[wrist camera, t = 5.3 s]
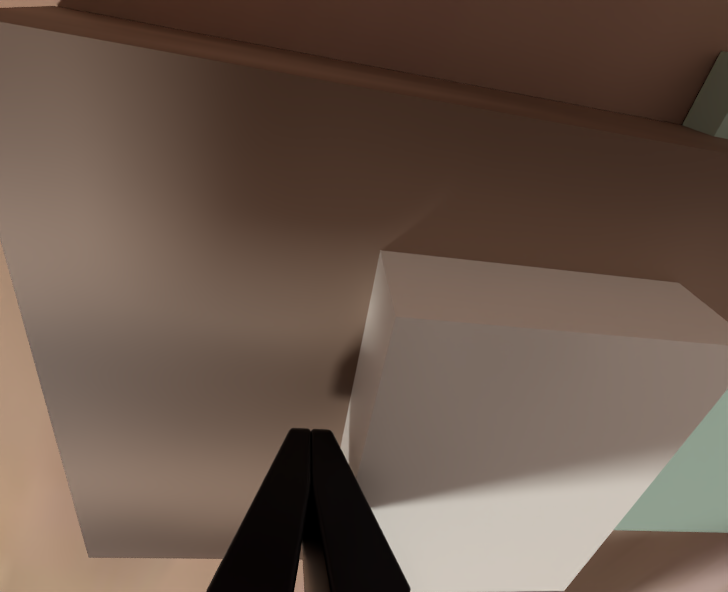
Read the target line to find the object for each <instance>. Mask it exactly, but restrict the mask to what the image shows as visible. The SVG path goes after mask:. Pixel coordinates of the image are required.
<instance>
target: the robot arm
mask: <svg viewBox="0 0 728 592" xmlns="http://www.w3.org/2000/svg"><path fill="white" fill-rule="evenodd" d="M301 546H302V557H303V574H304V590H305V592H410V590H411V588H410V586H409V584H408V582H407V580H406V578H405V576H404V574H403V572H402V570H401V568H400V566H399V564H398V562H397V560H396V558H395V556H394V554H393V552H392V550H391V548H390V546H389V544H388V542H387V540H386V538H385V536H384V534H383V532H382V530H381V528H380V526H379V524H378V522H377V520H376V518H375V516H374V514H373V512H372V510H371V508H370V506H369V504H368V502H367V500H366V498H365V496H364V494H363V492H362V490H361V488H360V486H359V484H358V482H357V480H356V478H355V476H354V474H353V472H352V470H351V468H350V466H349V464H348V462H347V460H346V458H345V456H344V454H343V452H342V450H341V448H340V446H339V444H338V442H337V440H336V438H335V436H334V434H333V432H332V431H331V430H329V429H312V430H311V431H310V429H308V428H291V429H290V430H289V432H288V433H287V435H286V437H285V439H284V441H283V443H282V445H281V447H280V449H279V451H278V453H277V455H276V457H275V459H274V461H273V463H272V464H271V466H270V468H269V470H268V472H267V474H266V476H265V478H264V480H263V482H262V484H261V486H260V488H259V490H258V492H257V494H256V496H255V497H254V499H253V501H252V503H251V505H250V507H249V509H248V511H247V513H246V515H245V517H244V519H243V521H242V523H241V525H240V527H239V528H238V530H237V532H236V534H235V536H234V538H233V540H232V542H231V544H230V546H229V548H228V550H227V552H226V554H225V556H224V558H223V560H222V561H221V563H220V565H219V567H218V569H217V571H216V573H215V575H214V577H213V579H212V581H211V583H210V585H209V587H208V589H207V591H206V592H294V588H295V582H296V576H297V570H298V564H299V558H300V552H301Z"/></svg>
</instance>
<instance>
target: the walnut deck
mask: <svg viewBox="0 0 728 592" xmlns="http://www.w3.org/2000/svg"><path fill="white" fill-rule="evenodd" d="M0 240H1V244H2V247H3V251H4V255H5V258H6V262H7V265H8V269H9V273H10V276H11V280H12V283H13V287H14V291H15V294H16V298H17V301H18V305H19V309H20V312H21V316H22V319H23V323H24V327H25V330H26V334H27V337H28V341H29V345H30V348H31V352H32V355H33V359H34V363H35V366H36V370H37V373H38V377H39V381H40V384H41V388H42V391H43V395H44V398H45V402H46V406H47V409H48V413H49V416H50V420H51V424H52V427H53V431H54V434H55V438H56V442H57V445H58V449H59V452H60V456H61V460H62V463H63V467H64V470H65V474H66V478H67V481H68V485H69V488H70V492H71V496H72V499H73V503H74V506H75V510H76V514H77V517H78V521H79V524H80V528H81V532H82V535H83V539H84V542H85V546H86V550H87V553H88V557H89V558H196V559H223V558H224V556H225V554H226V552H227V550H228V548H229V546H230V544H231V542H232V540H233V538H234V536H235V534H236V532H237V530H238V528H239V527H240V525H241V523H242V521H243V519H244V517H245V515H246V513H247V511H248V509H249V507H250V505H251V503H252V501H253V499H254V497H255V496H256V494H257V492H258V490H259V488H260V486H261V484H262V482H263V480H264V478H265V476H266V474H267V472H268V470H269V468H270V466H271V464H272V463H273V461H274V459H275V457H276V455H277V453H278V451H279V449H280V447H281V445H282V443H283V441H284V439H285V437H286V435H287V433H288V432H289V430H290V429H291V428H308V429H310V431H311V430H312V429H329V430H331V431H332V432H333V434H334V436H335V438H336V440H337V442H338V444H339V446H340V447H341V442H342V437H343V432H344V428H345V423H346V418H347V413H348V408H349V403H350V398H351V393H352V388H353V383H354V378H355V373H356V368H357V363H358V358H359V353H360V348H361V343H362V338H363V334H364V329H365V324H366V319H367V314H368V309H369V304H370V299H371V294H372V289H373V284H374V279H375V274H376V269H377V264H378V259H379V254H380V250H382V251H391V252H400V253H410V254H419V255H428V256H437V257H446V258H456V259H465V260H474V261H483V262H492V263H502V264H511V265H520V266H529V267H538V268H548V269H557V270H566V271H575V272H584V273H594V274H603V275H612V276H621V277H630V278H640V279H649V280H658V281H667V282H677V283H680V284H681V285H682V286H683V287H685V288H686V289H687V290H688V291H690V292H691V293H692V294H693V295H695V296H696V297H697V298H698V299H700V300H701V301H702V302H703V303H705V304H706V305H707V306H708V307H710V308H711V309H712V310H713V311H715V312H716V313H717V314H718V315H720V316H721V317H722V318H723V319H725V320H726V321H727V322H728V139H725V138H720V137H714V136H711V135H709V134H706V133H703V132H700V131H697V130H694V129H692V128H689V127H686V126H683V125H679V124H674V123H668V122H663V121H658V120H653V119H647V118H642V117H637V116H631V115H626V114H621V113H616V112H610V111H605V110H600V109H594V108H589V107H584V106H579V105H573V104H568V103H563V102H558V101H552V100H547V99H542V98H536V97H531V96H526V95H521V94H515V93H510V92H505V91H500V90H494V89H489V88H484V87H478V86H473V85H468V84H463V83H457V82H452V81H447V80H441V79H436V78H431V77H426V76H420V75H415V74H410V73H405V72H399V71H394V70H389V69H383V68H378V67H373V66H368V65H362V64H357V63H352V62H346V61H341V60H336V59H331V58H325V57H320V56H315V55H310V54H304V53H299V52H294V51H288V50H283V49H278V48H273V47H267V46H262V45H257V44H251V43H246V42H241V41H236V40H230V39H225V38H220V37H215V36H209V35H204V34H199V33H193V32H188V31H183V30H178V29H172V28H167V27H162V26H157V25H151V24H146V23H141V22H135V21H130V20H125V19H120V18H114V17H109V16H104V15H98V14H93V13H88V12H83V11H77V10H72V9H67V8H62V7H56V6H42V7H14V8H0ZM299 559H302V560H303V557H302V546H301V552H300V558H299Z"/></svg>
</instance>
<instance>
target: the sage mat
mask: <svg viewBox="0 0 728 592" xmlns="http://www.w3.org/2000/svg"><path fill="white" fill-rule="evenodd" d="M682 125H683V126H686V127H689V128H692V129H694V130H697V131H700V132H703V133H706V134H709V135H711V136H714V137H720V138H725V139H728V52H724V51H721V53H720V54H719V56H718V58H717V60H716V62H715V64H714V66H713V68H712V70H711V71H710V73H709V75H708V77H707V79H706V81H705V83H704V85H703V86H702V88H701V90H700V92H699V94H698V96H697V98H696V100H695V102H694V103H693V105H692V107H691V109H690V111H689V113H688V115H687V117H686V119H685V120H684V122H683V124H682ZM614 530H630V531H675V532H720V533H728V389H727V390H726V392H725V393H724V394H723V395H722V396H721V398H720V399H719V400H718V401H717V403H716V404H715V405H714V406H713V408H712V409H711V410H710V411H709V413H708V414H707V415H706V416H705V417H704V419H703V420H702V421H701V422H700V424H699V425H698V426H697V427H696V429H695V430H694V431H693V432H692V433H691V435H690V436H689V437H688V438H687V440H686V441H685V442H684V443H683V445H682V446H681V447H680V448H679V450H678V451H677V452H676V453H675V454H674V456H673V457H672V458H671V459H670V461H669V462H668V463H667V464H666V466H665V467H664V468H663V469H662V471H661V472H660V473H659V474H658V475H657V477H656V478H655V479H654V480H653V482H652V483H651V484H650V485H649V487H648V488H647V489H646V490H645V492H644V493H643V494H642V495H641V496H640V498H639V499H638V500H637V501H636V503H635V504H634V505H633V506H632V508H631V509H630V510H629V511H628V512H627V514H626V515H625V516H624V517H623V519H622V520H621V521H620V522H619V524H618V525H617V526H616V527H615V529H614Z"/></svg>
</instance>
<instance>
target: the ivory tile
mask: <svg viewBox="0 0 728 592" xmlns="http://www.w3.org/2000/svg"><path fill="white" fill-rule="evenodd" d="M727 389H728V322H727V321H726V320H725V319H723V318H722V317H721V316H720V315H718V314H717V313H716V312H715V311H713V310H712V309H711V308H710V307H708V306H707V305H706V304H705V303H703V302H702V301H701V300H700V299H698V298H697V297H696V296H695V295H693V294H692V293H691V292H690V291H688V290H687V289H686V288H685V287H683V286H682V285H681V284H680V283H677V282H667V281H658V280H649V279H640V278H630V277H621V276H612V275H603V274H594V273H584V272H575V271H566V270H557V269H548V268H538V267H529V266H520V265H511V264H502V263H492V262H483V261H474V260H465V259H456V258H446V257H437V256H428V255H419V254H410V253H400V252H391V251H382V250H380V254H379V259H378V264H377V269H376V274H375V279H374V284H373V289H372V294H371V299H370V304H369V309H368V314H367V319H366V324H365V329H364V334H363V338H362V343H361V348H360V353H359V358H358V363H357V368H356V373H355V378H354V383H353V388H352V393H351V398H350V403H349V408H348V413H347V418H346V423H345V428H344V432H343V437H342V442H341V447H340V448H341V450H342V452H343V454H344V456H345V458H346V460H347V462H348V464H349V466H350V468H351V470H352V472H353V474H354V476H355V478H356V480H357V482H358V484H359V486H360V488H361V490H362V492H363V494H364V496H365V498H366V500H367V502H368V504H369V506H370V508H371V510H372V512H373V514H374V516H375V518H376V520H377V522H378V524H379V526H380V528H381V530H382V532H383V534H384V536H385V538H386V540H387V542H388V544H389V546H390V548H391V550H392V552H393V554H394V556H395V558H396V560H397V562H398V564H399V566H400V568H401V570H402V572H403V574H404V576H405V578H406V580H407V582H408V584H409V586H410V588H411V590H410V592H515V591H564V590H565V589H566V588H567V587H568V585H569V584H570V583H571V582H572V580H573V579H574V578H575V577H576V575H577V574H578V573H579V572H580V571H581V569H582V568H583V567H584V566H585V564H586V563H587V562H588V561H589V559H590V558H591V557H592V556H593V554H594V553H595V552H596V551H597V550H598V548H599V547H600V546H601V545H602V543H603V542H604V541H605V540H606V538H607V537H608V536H609V535H610V533H611V532H612V531H613V530H614V529H615V527H616V526H617V525H618V524H619V522H620V521H621V520H622V519H623V517H624V516H625V515H626V514H627V512H628V511H629V510H630V509H631V508H632V506H633V505H634V504H635V503H636V501H637V500H638V499H639V498H640V496H641V495H642V494H643V493H644V492H645V490H646V489H647V488H648V487H649V485H650V484H651V483H652V482H653V480H654V479H655V478H656V477H657V475H658V474H659V473H660V472H661V471H662V469H663V468H664V467H665V466H666V464H667V463H668V462H669V461H670V459H671V458H672V457H673V456H674V454H675V453H676V452H677V451H678V450H679V448H680V447H681V446H682V445H683V443H684V442H685V441H686V440H687V438H688V437H689V436H690V435H691V433H692V432H693V431H694V430H695V429H696V427H697V426H698V425H699V424H700V422H701V421H702V420H703V419H704V417H705V416H706V415H707V414H708V413H709V411H710V410H711V409H712V408H713V406H714V405H715V404H716V403H717V401H718V400H719V399H720V398H721V396H722V395H723V394H724V393H725V392H726V390H727Z"/></svg>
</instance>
